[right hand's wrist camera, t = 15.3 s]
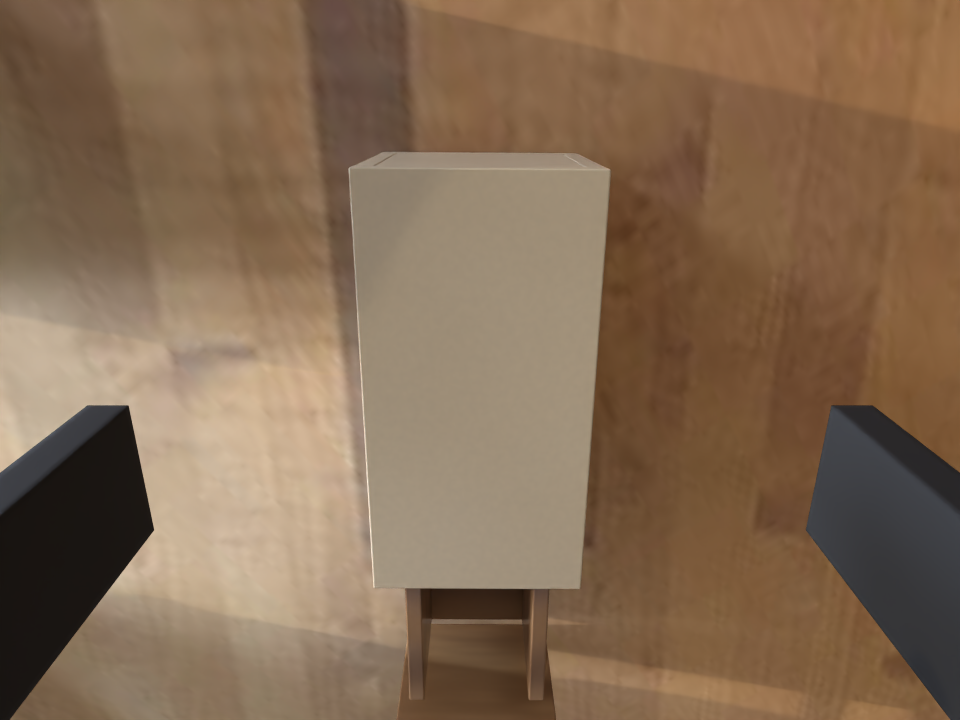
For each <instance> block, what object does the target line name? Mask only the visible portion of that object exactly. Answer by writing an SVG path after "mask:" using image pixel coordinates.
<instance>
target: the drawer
mask: <svg viewBox="0 0 960 720" xmlns="http://www.w3.org/2000/svg"><path fill="white" fill-rule="evenodd" d="M405 598H406V623H407V646H406V653H405V660H404V668H403V675H402V683H401V690H400V697H399V705H398V712H397V719H396V720H556V715H555V707H554V699H553V691H552V683H551V675H550V667H549V659H548V651H547V643H546V639H547V620H548V602H549V589H444V588H405ZM432 619H522V625H515V624H431V622H432Z"/></svg>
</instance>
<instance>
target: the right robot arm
mask: <svg viewBox="0 0 960 720" xmlns="http://www.w3.org/2000/svg"><path fill="white" fill-rule="evenodd" d="M153 531H154V527H153V522H152V517H151V512H150V508H149V503H148V498H147V493H146V488H145V483H144V478H143V474H142V469H141V464H140V459H139V454H138V449H137V444H136V440H135V435H134V430H133V425H132V420H131V415H130V410H129V406H86V407H85V408H84V409H82V410H81V411H80V412H78V413H77V414H76V415H75V416H73V417H72V418H71V419H69V420H68V421H67V422H65V423H64V424H63V425H62V426H60V427H59V428H58V429H56V430H55V431H54V432H53V433H51V434H50V435H49V436H47V437H46V438H45V439H43V440H42V441H41V442H40V443H38V444H37V445H36V446H34V447H33V448H32V449H30V450H29V451H28V452H27V453H25V454H24V455H23V456H21V457H20V458H19V459H18V460H16V461H15V462H14V463H12V464H11V465H10V466H8V467H7V468H6V469H5V470H3V471H2V472H1V473H0V720H10V718H11V717H12V716H13V714H14V713H15V712H16V711H17V709H18V708H19V707H20V705H21V704H22V703H23V701H24V700H25V699H26V697H27V696H28V695H29V693H30V692H31V691H32V690H33V688H34V687H35V686H36V684H37V683H38V682H39V680H40V679H41V678H42V676H43V675H44V674H45V672H46V671H47V670H48V669H49V667H50V666H51V665H52V663H53V662H54V661H55V659H56V658H57V657H58V655H59V654H60V653H61V651H62V650H63V649H64V648H65V646H66V645H67V644H68V642H69V641H70V640H71V638H72V637H73V636H74V634H75V633H76V632H77V631H78V629H79V628H80V627H81V625H82V624H83V623H84V621H85V620H86V619H87V617H88V616H89V615H90V613H91V612H92V611H93V610H94V608H95V607H96V606H97V604H98V603H99V602H100V600H101V599H102V598H103V596H104V595H105V594H106V592H107V591H108V590H109V589H110V587H111V586H112V585H113V583H114V582H115V581H116V579H117V578H118V577H119V575H120V574H121V573H122V572H123V570H124V569H125V568H126V566H127V565H128V564H129V562H130V561H131V560H132V558H133V557H134V556H135V554H136V553H137V552H138V551H139V549H140V548H141V547H142V545H143V544H144V543H145V541H146V540H147V539H148V537H149V536H150V535H151V533H152V532H153ZM806 531H807V532H808V533H809V535H810V536H811V537H812V539H813V540H814V541H815V543H816V544H817V545H818V547H819V548H820V549H821V551H822V552H823V553H824V554H825V556H826V557H827V558H828V560H829V561H830V562H831V564H832V565H833V566H834V568H835V569H836V570H837V572H838V573H839V574H840V575H841V577H842V578H843V579H844V581H845V582H846V583H847V585H848V586H849V587H850V589H851V590H852V591H853V592H854V594H855V595H856V596H857V598H858V599H859V600H860V602H861V603H862V604H863V606H864V607H865V608H866V610H867V611H868V612H869V613H870V615H871V616H872V617H873V619H874V620H875V621H876V623H877V624H878V625H879V627H880V628H881V629H882V631H883V632H884V633H885V634H886V636H887V637H888V638H889V640H890V641H891V642H892V644H893V645H894V646H895V648H896V649H897V650H898V651H899V653H900V654H901V655H902V657H903V658H904V659H905V661H906V662H907V663H908V665H909V666H910V667H911V669H912V670H913V671H914V672H915V674H916V675H917V676H918V678H919V679H920V680H921V682H922V683H923V684H924V686H925V687H926V688H927V690H928V691H929V692H930V693H931V695H932V696H933V697H934V699H935V700H936V701H937V703H938V704H939V705H940V707H941V708H942V709H943V711H944V712H945V713H946V714H947V716H948V717H949V718H950V720H960V473H959V472H958V471H957V470H955V469H954V468H953V467H952V466H950V465H949V464H948V463H946V462H945V461H944V460H942V459H941V458H940V457H939V456H937V455H936V454H935V453H933V452H932V451H931V450H930V449H928V448H927V447H926V446H924V445H923V444H922V443H920V442H919V441H918V440H917V439H915V438H914V437H913V436H911V435H910V434H909V433H907V432H906V431H905V430H904V429H902V428H901V427H900V426H898V425H897V424H896V423H895V422H893V421H892V420H891V419H889V418H888V417H887V416H885V415H884V414H883V413H882V412H880V411H879V410H878V409H876V408H875V407H874V406H831V410H830V415H829V420H828V425H827V430H826V435H825V440H824V444H823V449H822V454H821V459H820V464H819V469H818V474H817V478H816V483H815V488H814V493H813V498H812V503H811V508H810V512H809V517H808V522H807V527H806Z"/></svg>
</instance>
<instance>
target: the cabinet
mask: <svg viewBox="0 0 960 720" xmlns="http://www.w3.org/2000/svg"><path fill="white" fill-rule="evenodd" d="M610 180H611V170H610V169H608V168H606V167H604V166H602V165H599V164H597V163H595V162H593V161H591V160H589V159H587V158H585V157H583V156H581V155H579V154H577V153H471V152H381V153H380V154H378V155H376V156H374V157H372V158H370V159H367V160H365V161H363V162H361V163H359V164H357V165H355V166H352V167H350V168H349V185H350V202H351V218H352V235H353V252H354V268H355V285H356V301H357V318H358V335H359V351H360V368H361V385H362V401H363V418H364V435H365V451H366V468H367V484H368V501H369V518H370V534H371V551H372V568H373V584H374V588H444V589H580V588H581V577H582V563H583V549H584V535H585V522H586V508H587V494H588V481H589V467H590V453H591V440H592V426H593V412H594V399H595V385H596V371H597V358H598V344H599V330H600V317H601V303H602V289H603V276H604V262H605V248H606V235H607V221H608V207H609V194H610Z"/></svg>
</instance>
